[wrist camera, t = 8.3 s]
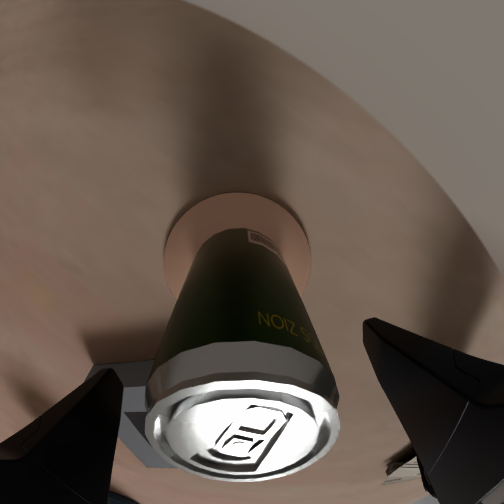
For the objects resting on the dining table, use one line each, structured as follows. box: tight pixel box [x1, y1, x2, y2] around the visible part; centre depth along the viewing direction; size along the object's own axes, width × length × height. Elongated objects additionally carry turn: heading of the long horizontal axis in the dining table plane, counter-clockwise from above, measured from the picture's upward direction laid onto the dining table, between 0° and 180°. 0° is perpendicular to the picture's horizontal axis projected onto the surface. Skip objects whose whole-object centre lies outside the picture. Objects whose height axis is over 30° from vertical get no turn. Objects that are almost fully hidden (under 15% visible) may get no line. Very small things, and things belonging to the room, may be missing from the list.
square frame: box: [84, 360, 178, 468], centre depth 20 cm, size 12×12×3 cm
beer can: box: [144, 228, 341, 482], centre depth 12 cm, size 5×5×12 cm
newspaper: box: [382, 457, 421, 485], centre depth 30 cm, size 35×12×4 cm, turn 59°
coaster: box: [164, 192, 311, 301], centre depth 17 cm, size 9×9×1 cm
